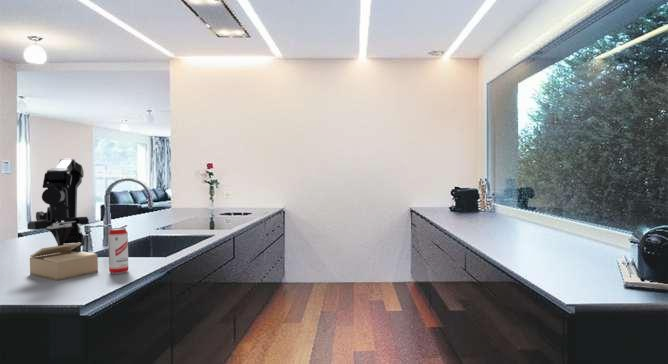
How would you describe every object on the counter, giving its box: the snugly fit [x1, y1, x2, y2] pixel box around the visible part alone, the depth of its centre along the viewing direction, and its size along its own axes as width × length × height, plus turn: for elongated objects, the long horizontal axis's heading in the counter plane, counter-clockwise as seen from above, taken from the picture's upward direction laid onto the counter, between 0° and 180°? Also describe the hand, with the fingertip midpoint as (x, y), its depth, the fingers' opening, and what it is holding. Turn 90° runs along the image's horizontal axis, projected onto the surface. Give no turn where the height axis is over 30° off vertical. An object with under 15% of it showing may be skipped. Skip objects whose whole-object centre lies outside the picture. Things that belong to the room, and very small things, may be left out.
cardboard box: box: [29, 251, 99, 281], centre depth 157 cm, size 14×18×6 cm
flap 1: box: [29, 242, 81, 258], centre depth 160 cm, size 14×9×1 cm, turn 150°
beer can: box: [107, 227, 129, 275], centre depth 157 cm, size 6×6×16 cm
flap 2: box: [44, 250, 98, 263], centre depth 155 cm, size 14×9×1 cm, turn 150°
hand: (60, 246), depth 158 cm, fingers closed, pressing on flap 1
